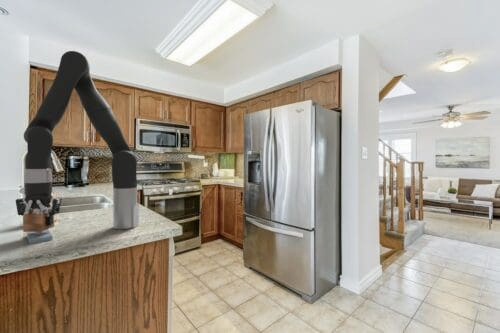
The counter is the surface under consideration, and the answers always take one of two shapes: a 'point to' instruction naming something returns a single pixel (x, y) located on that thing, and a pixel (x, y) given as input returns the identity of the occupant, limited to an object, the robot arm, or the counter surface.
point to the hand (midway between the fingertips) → (39, 226)
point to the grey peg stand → (39, 234)
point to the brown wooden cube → (35, 222)
